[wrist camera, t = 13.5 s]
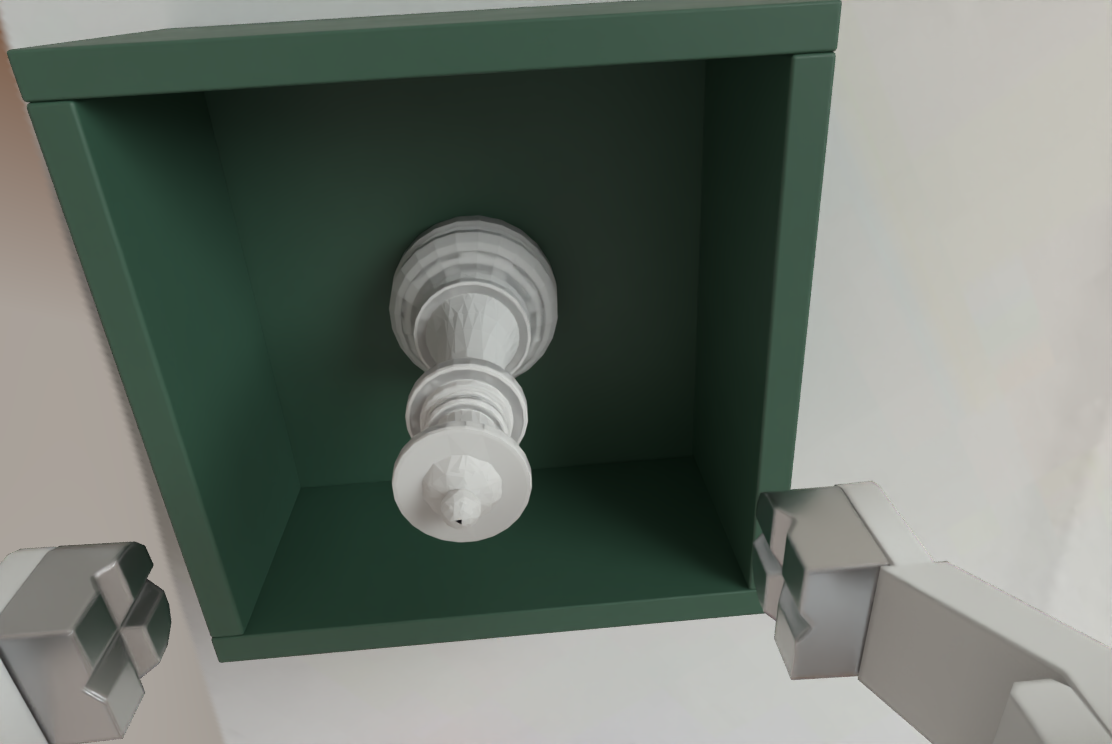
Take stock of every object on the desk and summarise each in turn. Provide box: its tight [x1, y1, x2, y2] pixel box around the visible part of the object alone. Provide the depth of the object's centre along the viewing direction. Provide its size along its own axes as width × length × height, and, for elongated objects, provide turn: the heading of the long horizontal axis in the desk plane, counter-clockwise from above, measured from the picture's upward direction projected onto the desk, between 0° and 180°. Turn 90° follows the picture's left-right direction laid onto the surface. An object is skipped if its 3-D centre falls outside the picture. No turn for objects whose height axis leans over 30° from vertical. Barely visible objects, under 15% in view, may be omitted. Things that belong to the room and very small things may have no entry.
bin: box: [7, 0, 842, 663], centre depth 19 cm, size 14×14×7 cm
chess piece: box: [389, 215, 558, 542], centre depth 16 cm, size 4×4×10 cm
